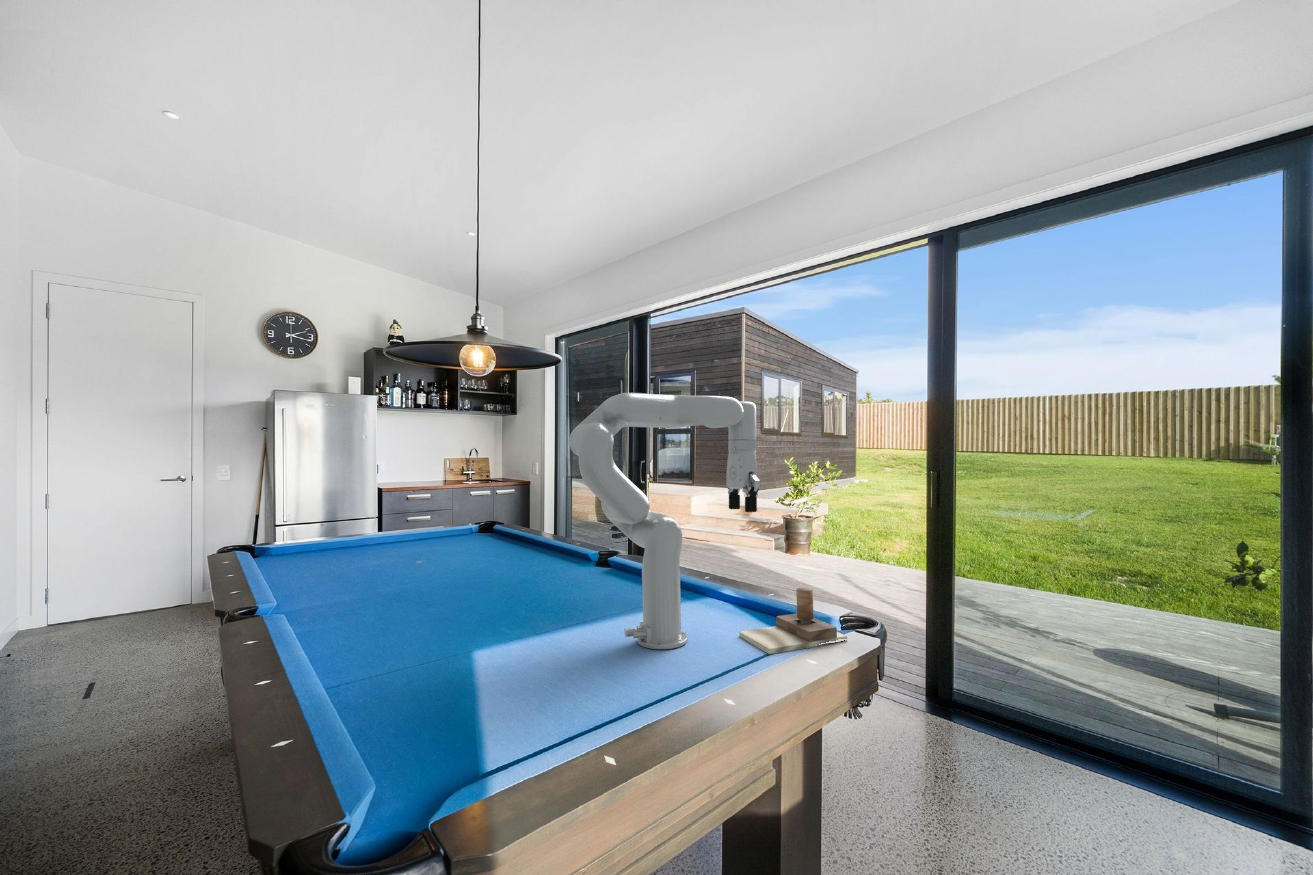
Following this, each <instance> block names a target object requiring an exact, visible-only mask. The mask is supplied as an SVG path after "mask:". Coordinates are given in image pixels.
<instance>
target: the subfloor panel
mask: <svg viewBox="0 0 1313 875" xmlns="http://www.w3.org/2000/svg"><path fill="white" fill-rule="evenodd" d="M775 622H776V623H775V624H776V625H774V626H767V627H760V628H754V629H746V630H740V631H739V635H738V636H739V637H740V638H742V639H743V640H745V641H747V642H748V643H750V644H751V645H753V646H755V647H757V648H758V649H760V650H761V651H763V652H765V653H767V654H768V655H772V654H773V655H774V654H779V653H784V652H785V653H786V652H791V651H796V650H802V649H807V648H809V649H810V648H815V647H817V646H816V645H819V644H821V643H826V642H829V641H836V640H838V639H847V640H848V636H847V635H845V634H844V633H841V632H839V631H838V628H837V626H835V625H832V624H829V623H828V622H825V621H823V620H820V619H818V618H815V617H814V618H813V619H812V620H810V624H805V625H803V624H801V620H800V619H798V618H797V612H796V613H791V614H782V615H776V620H775ZM814 646H815V647H814Z"/></svg>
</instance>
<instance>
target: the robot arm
mask: <svg viewBox="0 0 1313 875" xmlns="http://www.w3.org/2000/svg"><path fill="white" fill-rule="evenodd" d="M694 426H705V427H706V428H709V429H721V428H728V438H727V439H728V441H727V442H728V446H727V447H728V454H727V462H726V478H725V480H726V482H725V484H726V487H727V493H728V509H729V510H740V509H741V494H740V490H742V489H743V490H744V493H745V497H744V512H745V513H756V512H757V511H758V507H757V506H758V495H759V494H758V493H759V487H760V482H761V481H760V479H759V478H758V466H757V454H756V453H757V406H756V403H754V402H752V401H745V400H744V401H743V400H742V401H741V400H740V401H739V400H738V399H736V398H735V397H732V396H731V397H730V396H724V395H723V396H722V395H721V396H720V395H690V394H689V395H688V394H687V395H684V394H657V393H643V392H622V393H619V394H616V395H613V396H610V397H608V398H607V399H605V400H604V401H603V402H602V403H601V404H600V405H599V406H598V407H597V408H596V409H595V410H593V411H592V412H591V413H590V414H589V415H588V416H587V417H585V419H583V420H582V421H581V422H580V423H579V424H578V425H577V426H575V427H574V429H573V430H572V431H571V433H570V435H569V440H568V441H569V442H568V445H569V448H570V450H571V451H572V452H573V454H574V455H576V456H578V467H579V472H580V475H581V478H582V480H583V482H584V484H585V485H586V486H587V488H588V489H589V490H590V492H592V493H593V494H594V495H595V496H596V497H597V498H598V499H599V501H600V503H601V504H600V505H601V510H602V512H603V514H604V515H605V517H606V518H607V519H608V521H610V522H611V523H612V524H613V525H614V526H615V527H616V528H617V529H618V530H619V531H621V533H623V535H624V536H625V537H627V538H628V539H629V540H630V541H632V543H634V544H635V545H637V546H638V547H640V548H643V549H644V552H643V558H642V564H641V565H642V566H641V580H642V582H641V583H642V622H639V625H637V626H636V628H635V627H633V628H632V627H631V628H625V629H624V636H625V638H629V637H632V638H633V639H637V641H636V642H637V643H638V645H639V646H641V647H643V648H646V649H650V650H671V649H675V648H680V647H682V646H684V645H686V644H687V642H688V640H689V639H688V638H689V637H688V634H686V633H685V632H683V631H682V615H681V614H682V609H681V608H682V605H681V604H682V603H681V598H682V597H681V576H680V575H681V569H680V568H681V567H680V566H681V564H680V563H681V549H682V546H683V532H682V528H681V526H680V524H679V523H678V522H677V520H676V519H675V518H673V517H672V516H669V515H667V514H661V513H659V512H658V513H657V512H654V511H652V510H651V507H650V506H651V505H650V501H649V498H648V497H647V495H646V494H645V493H644V491H642V490H641V489H640V488H639V487H638V486H636V484H634V483H633V482H632V480H631V479H629V478H628V477H627V476H626V475H625V474H624V473H623V472H622V470H620V469H619V467H618V466H617V465H616V463H615V460H614V456H613V449H614V442H615V438H614V437H615V435H616V434H618V433H619V431H621V429H623V428H625V427H626V428H628V427H629V428H630V427H631V428H660V429H662V428H663V429H676V428H677V429H678V428H686V427H694Z"/></svg>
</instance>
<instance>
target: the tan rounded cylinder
mask: <svg viewBox="0 0 1313 875" xmlns="http://www.w3.org/2000/svg"><path fill="white" fill-rule="evenodd" d="M813 590H814V589H813V588H810V587H798V588H796V590H795V592H796V594H795V596H796V613H797V618H798V619H800V620H801V624H803V625H805V624H810V620H812V619H813V618H815V617H814V591H813Z"/></svg>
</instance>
